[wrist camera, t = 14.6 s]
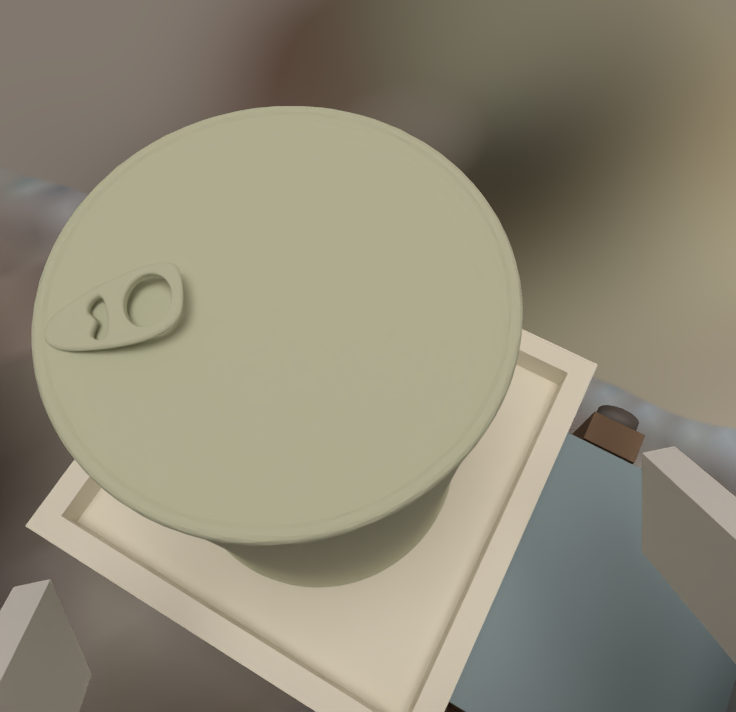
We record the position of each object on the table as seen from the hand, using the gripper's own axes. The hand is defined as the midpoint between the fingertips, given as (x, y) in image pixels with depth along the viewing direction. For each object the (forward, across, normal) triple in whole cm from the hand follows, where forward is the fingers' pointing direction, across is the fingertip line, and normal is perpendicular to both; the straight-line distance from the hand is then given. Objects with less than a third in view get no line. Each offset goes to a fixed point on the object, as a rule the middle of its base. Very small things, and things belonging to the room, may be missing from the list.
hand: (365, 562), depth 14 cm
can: (+8, -1, -2) cm, 9 cm away
